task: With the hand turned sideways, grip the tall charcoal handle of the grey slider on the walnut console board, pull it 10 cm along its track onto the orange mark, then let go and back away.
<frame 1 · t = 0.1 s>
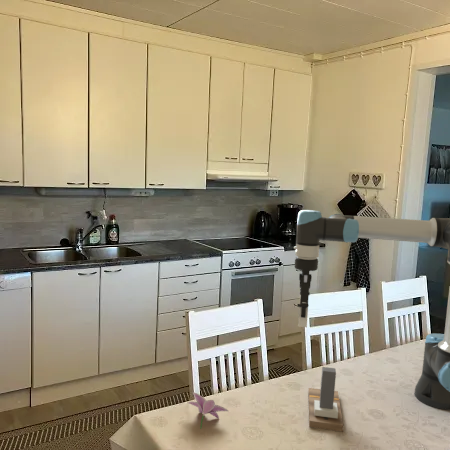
hand: (302, 320, 155), 28 cm above the table, tool pointing down, fingers open, 13 cm apart
slider: (327, 390, 145), point 9 cm above the table, slide at 0.0 cm
console board: (324, 410, 151), on the table
lily: (205, 422, 141), on the table
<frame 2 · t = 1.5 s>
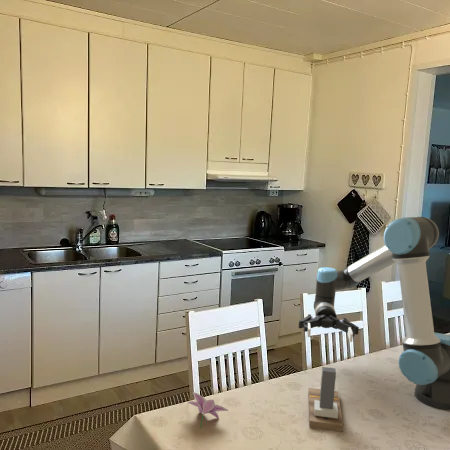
hand: (330, 335, 152), 24 cm above the table, tool horizontal, fingers open, 13 cm apart
nothing on the table moved.
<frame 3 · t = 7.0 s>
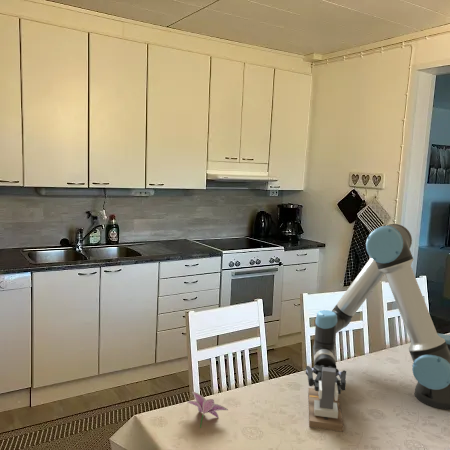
hand: (328, 395, 140), 10 cm above the table, tool horizontal, fingers closed on slider, 4 cm apart
slider: (327, 390, 145), point 9 cm above the table, slide at 0.0 cm, touching gripper
everything else where it was.
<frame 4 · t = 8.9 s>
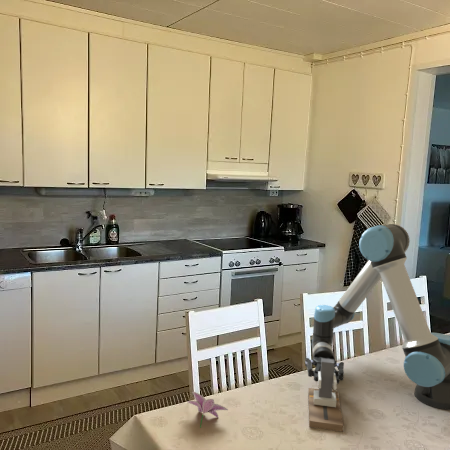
hand: (327, 384, 147), 11 cm above the table, tool horizontal, fingers closed on slider, 4 cm apart
slider: (326, 381, 152), point 9 cm above the table, slide at 7.0 cm, touching gripper
everything else where it was.
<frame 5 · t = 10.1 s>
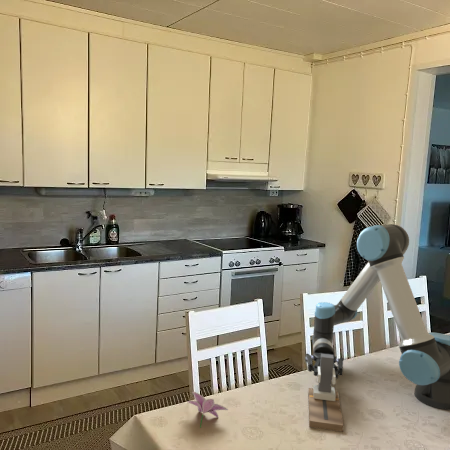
hand: (326, 379, 150), 10 cm above the table, tool horizontal, fingers closed on slider, 4 cm apart
slider: (325, 375, 156), point 9 cm above the table, slide at 11.0 cm, touching gripper
everything else where it was.
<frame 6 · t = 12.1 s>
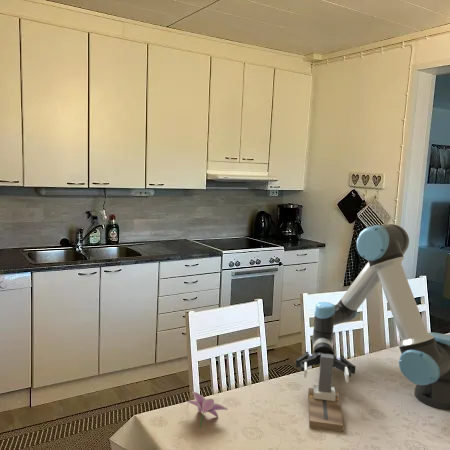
hand: (326, 376, 153), 11 cm above the table, tool horizontal, fingers open, 13 cm apart
slider: (325, 375, 156), point 9 cm above the table, slide at 11.0 cm
everything else where it was.
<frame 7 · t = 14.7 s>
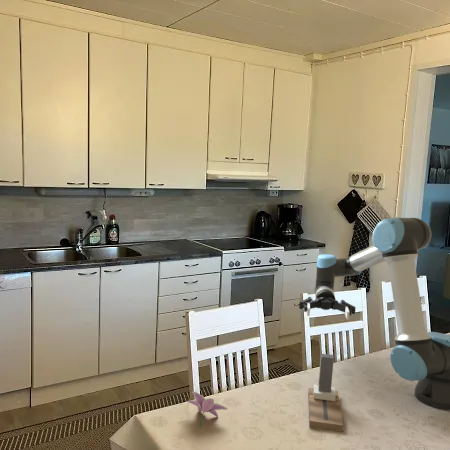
hand: (328, 314, 163), 28 cm above the table, tool horizontal, fingers open, 13 cm apart
nothing on the table moved.
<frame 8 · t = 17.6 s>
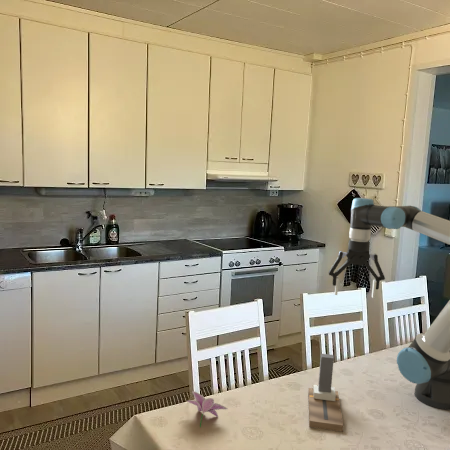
hand: (354, 295, 174), 32 cm above the table, tool pointing down, fingers open, 13 cm apart
nothing on the table moved.
at the end: slider slide at 11.0 cm; the gripper is holding nothing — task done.
